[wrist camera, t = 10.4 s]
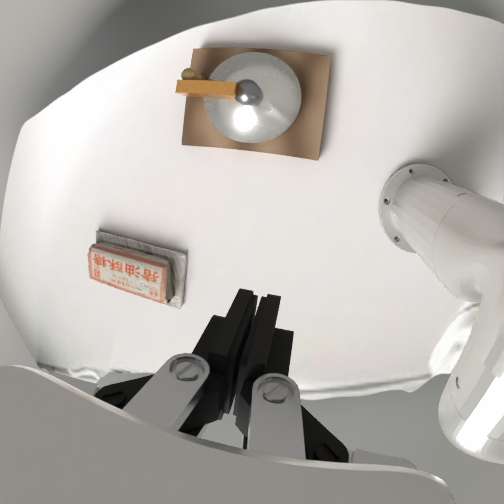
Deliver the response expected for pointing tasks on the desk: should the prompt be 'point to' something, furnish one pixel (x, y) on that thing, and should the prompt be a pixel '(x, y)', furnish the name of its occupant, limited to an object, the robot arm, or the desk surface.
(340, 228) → the desk surface
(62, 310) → the desk surface
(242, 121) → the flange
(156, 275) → the packaged product
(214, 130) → the board
